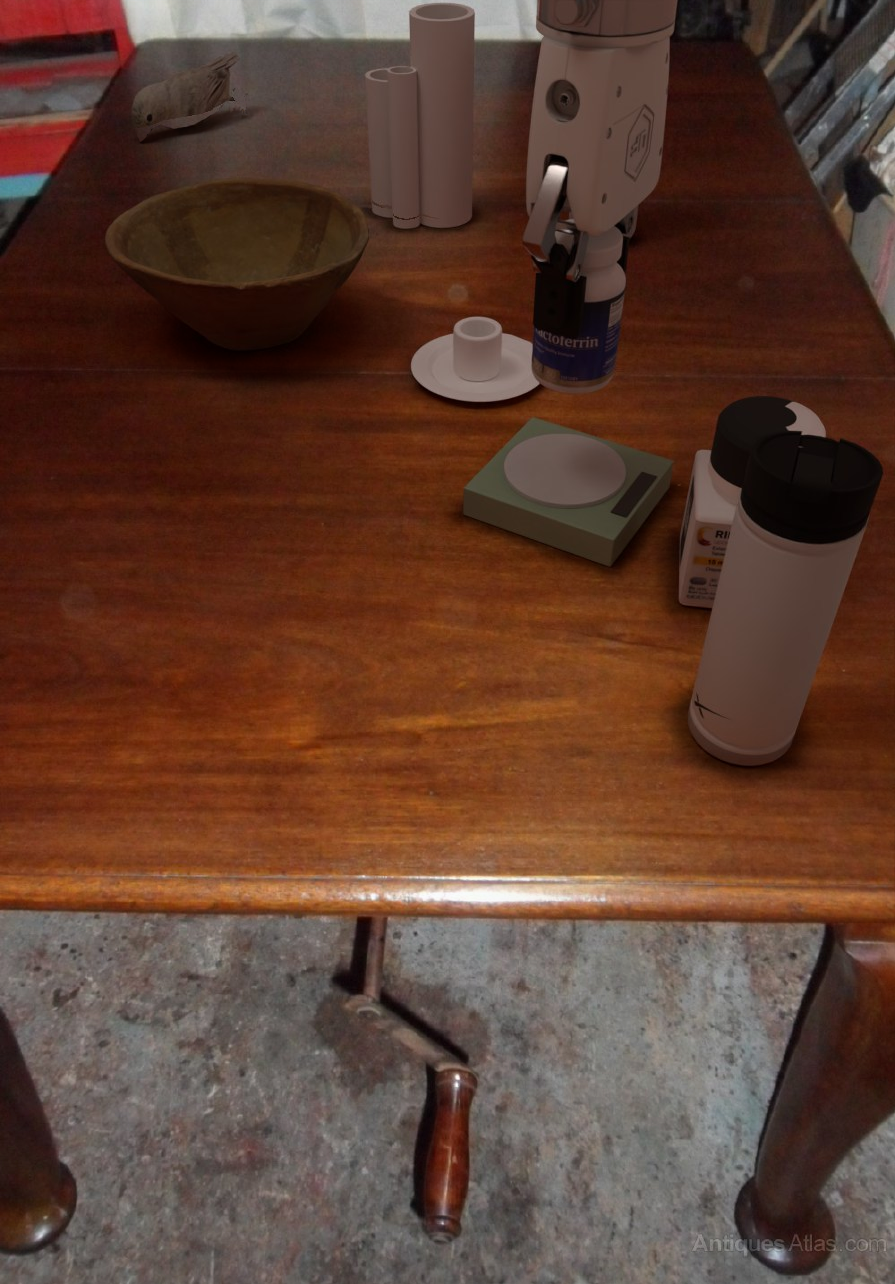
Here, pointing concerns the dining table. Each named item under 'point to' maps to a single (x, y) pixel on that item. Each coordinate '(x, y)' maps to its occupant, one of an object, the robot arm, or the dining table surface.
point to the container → (727, 487)
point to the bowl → (241, 255)
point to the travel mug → (779, 591)
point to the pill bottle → (586, 323)
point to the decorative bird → (185, 93)
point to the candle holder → (475, 363)
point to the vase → (425, 122)
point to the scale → (568, 490)
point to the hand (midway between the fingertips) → (579, 308)
